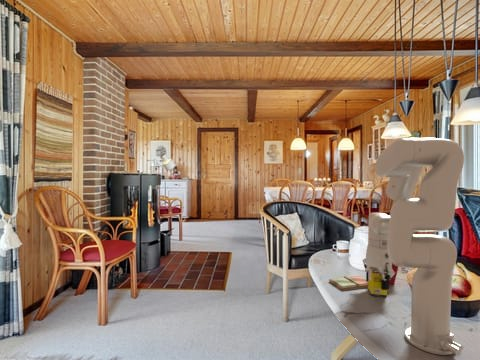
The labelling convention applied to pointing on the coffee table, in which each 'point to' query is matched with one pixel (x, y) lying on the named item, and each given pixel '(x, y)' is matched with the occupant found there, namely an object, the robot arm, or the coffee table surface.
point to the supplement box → (375, 283)
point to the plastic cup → (395, 269)
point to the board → (349, 283)
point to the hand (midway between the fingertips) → (377, 285)
